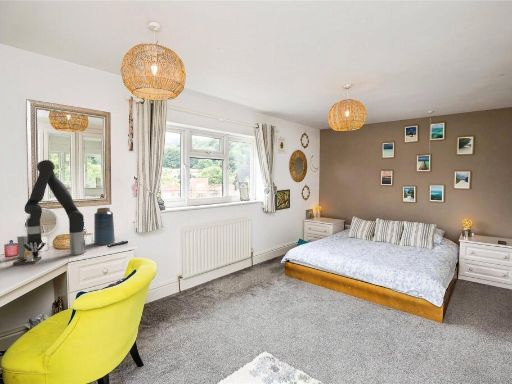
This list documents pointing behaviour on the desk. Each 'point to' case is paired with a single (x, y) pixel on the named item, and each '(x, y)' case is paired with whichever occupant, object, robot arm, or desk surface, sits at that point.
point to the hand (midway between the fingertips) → (35, 256)
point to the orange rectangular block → (26, 255)
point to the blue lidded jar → (103, 227)
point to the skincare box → (21, 242)
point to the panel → (28, 260)
